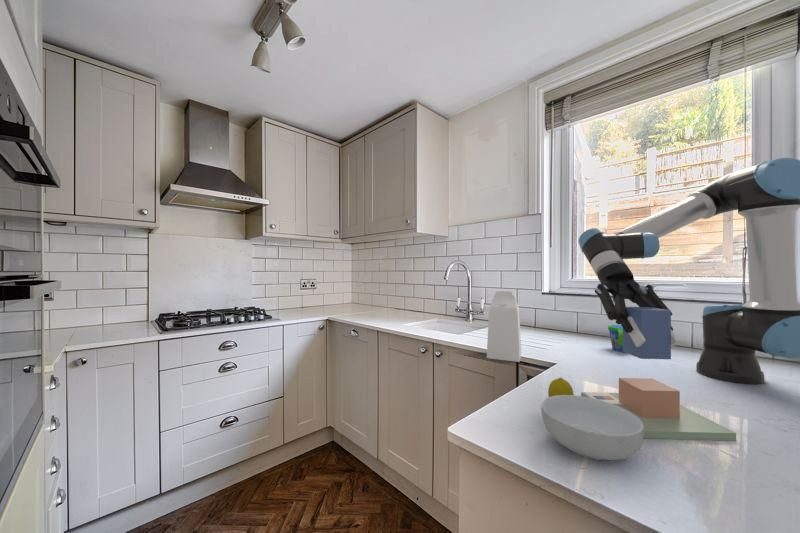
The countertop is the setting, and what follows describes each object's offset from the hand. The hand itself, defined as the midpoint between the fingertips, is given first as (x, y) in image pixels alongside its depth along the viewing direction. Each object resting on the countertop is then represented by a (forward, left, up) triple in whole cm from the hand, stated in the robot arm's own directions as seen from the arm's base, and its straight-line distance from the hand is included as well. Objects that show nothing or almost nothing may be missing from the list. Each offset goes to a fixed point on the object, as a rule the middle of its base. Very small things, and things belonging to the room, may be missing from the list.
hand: (657, 343), depth 70 cm
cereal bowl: (+21, +10, -18) cm, 29 cm away
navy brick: (0, -4, -4) cm, 5 cm away
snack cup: (-34, -65, -18) cm, 75 cm away
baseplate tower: (0, -4, -18) cm, 18 cm away
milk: (+19, -54, -18) cm, 59 cm away
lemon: (+19, -6, -18) cm, 27 cm away
